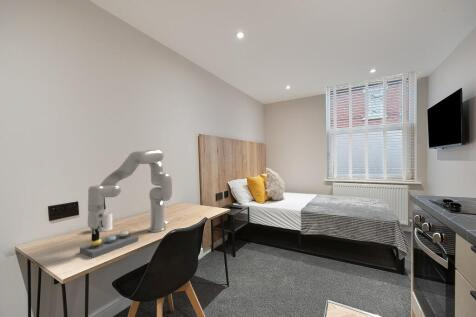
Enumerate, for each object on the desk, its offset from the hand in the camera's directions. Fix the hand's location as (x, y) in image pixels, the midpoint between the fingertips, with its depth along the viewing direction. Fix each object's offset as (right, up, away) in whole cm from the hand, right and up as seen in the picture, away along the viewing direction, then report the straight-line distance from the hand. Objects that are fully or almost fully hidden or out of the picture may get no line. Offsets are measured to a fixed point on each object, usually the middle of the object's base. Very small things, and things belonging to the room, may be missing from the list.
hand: (95, 240), depth 113 cm
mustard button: (0, -2, 0) cm, 2 cm away
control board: (+4, -7, +7) cm, 11 cm away
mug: (-20, -8, +37) cm, 43 cm away
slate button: (+4, -3, +7) cm, 9 cm away
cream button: (+8, -2, +14) cm, 17 cm away
